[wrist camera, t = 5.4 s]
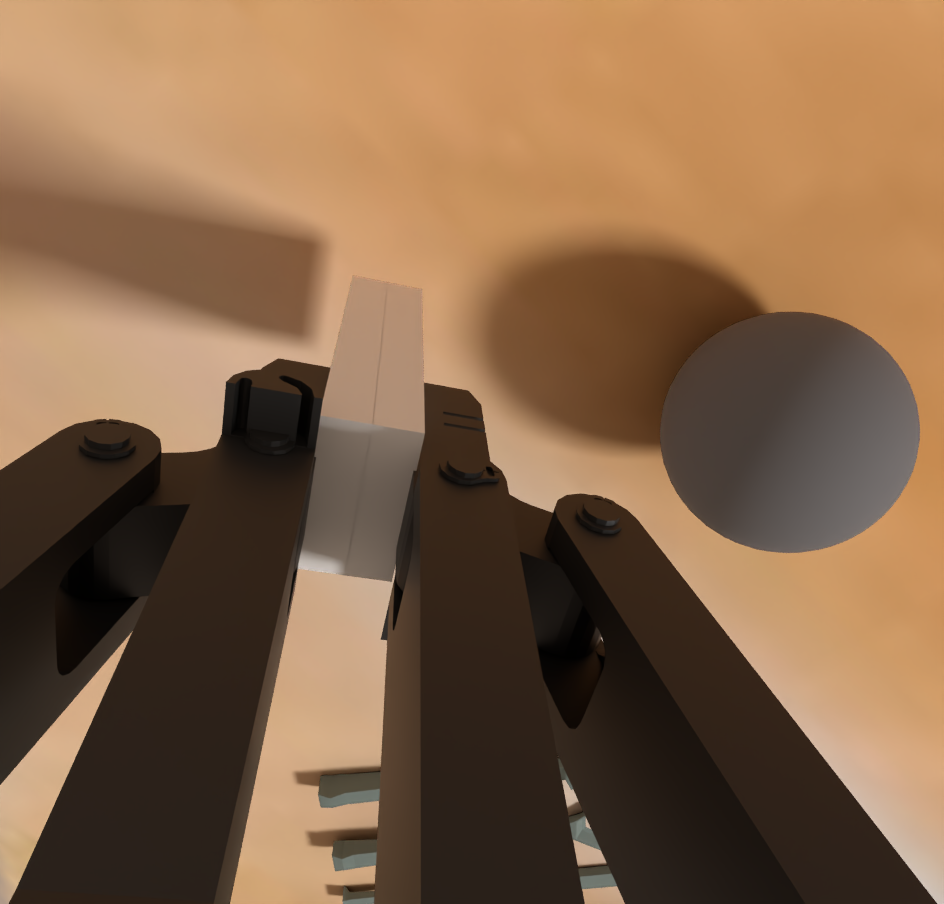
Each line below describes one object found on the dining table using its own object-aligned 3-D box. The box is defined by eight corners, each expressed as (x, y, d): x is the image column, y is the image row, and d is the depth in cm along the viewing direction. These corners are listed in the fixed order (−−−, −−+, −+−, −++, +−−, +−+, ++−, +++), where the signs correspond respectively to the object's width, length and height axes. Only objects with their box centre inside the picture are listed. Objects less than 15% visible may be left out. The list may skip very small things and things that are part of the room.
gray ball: (744, 503, 22) (834, 638, 18) (593, 414, 21) (646, 537, 16) (889, 350, 20) (1035, 456, 15) (733, 237, 18) (844, 317, 14)
